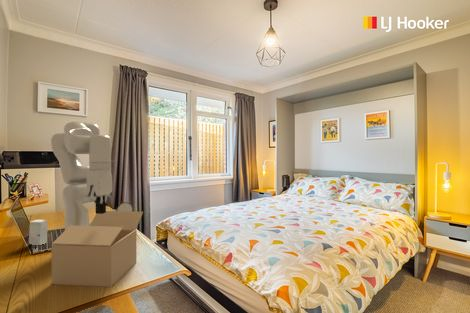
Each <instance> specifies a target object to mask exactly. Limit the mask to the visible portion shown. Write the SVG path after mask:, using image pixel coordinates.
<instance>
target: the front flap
mask: <svg viewBox="0 0 470 313" xmlns="http://www.w3.org/2000/svg"><path fill="white" fill-rule="evenodd" d="M122 228H123V227H108V226H90V225H89V226H73V225H70V226H69V227H68V228H67V229H66V230H65V229H64V231H63V232H62V233H61V234H59V236H58V237H57V238H56V239H55V240H54V241H53V242H52V244H57V245H87V246H111V244H112V243H113V241H114V240H115V238H116V237H117V236H118V234H119V233H120V231H121V230H122ZM52 244H51V245H52Z"/></svg>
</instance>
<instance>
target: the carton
mask: <svg viewBox="0 0 470 313" xmlns="http://www.w3.org/2000/svg"><path fill="white" fill-rule="evenodd" d="M136 264H137V229H136V230H125V229H122V230H121V231H120V233H119V234H118V236H117V237H116V238H115V240H114V241H113V243H112V244H111V246H87V245H57V244H51V285H61V286H62V285H65V286H85V287H86V286H87V287H89V286H90V287H109V288H111V287H113V286H114V285H115V284H116V283H117V282H118V281H119V280H120V279H122V277H123V276H124V275H125V274H126V273H128V271H129V270H130V269H131V268H132V267H133V266H134V265H136Z"/></svg>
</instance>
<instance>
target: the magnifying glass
mask: <svg viewBox="0 0 470 313" xmlns="http://www.w3.org/2000/svg"><path fill="white" fill-rule="evenodd" d="M115 210H116V211H134V207H133V205H132V204H131V203H130V202H128V201H127V202H126V201H125V202H124V201H123V202H121V203H120V204H118V206H117V207H116V209H115Z"/></svg>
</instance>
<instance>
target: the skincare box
mask: <svg viewBox="0 0 470 313" xmlns="http://www.w3.org/2000/svg"><path fill="white" fill-rule="evenodd" d="M28 233H29V234H28V236H29V237H28V245H29V244H33V245H42V244H44V245H46V244H48V220H47V219H34V220H31V221H29V230H28ZM45 243H46V244H45ZM42 246H43V245H42Z"/></svg>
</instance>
